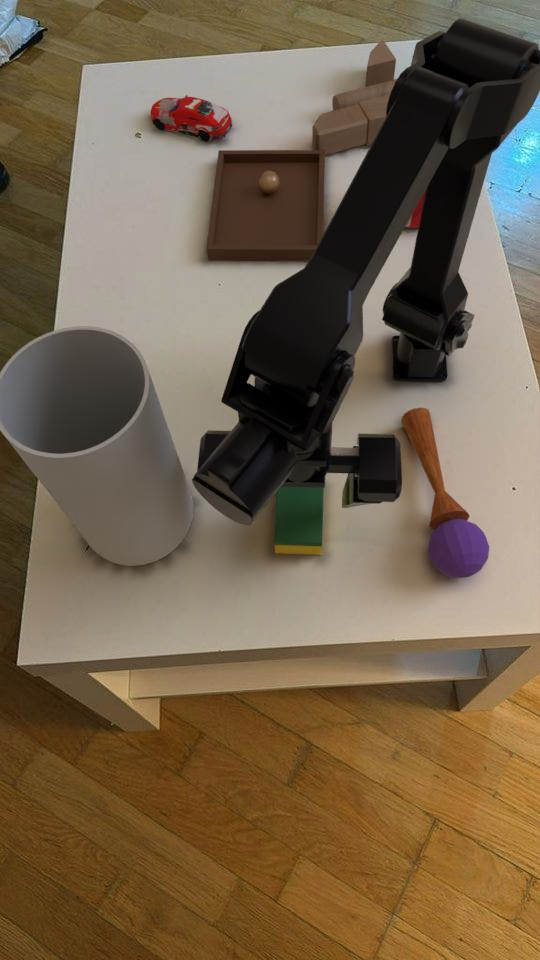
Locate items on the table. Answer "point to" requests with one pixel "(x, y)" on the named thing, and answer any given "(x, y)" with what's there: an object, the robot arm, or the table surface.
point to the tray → (267, 206)
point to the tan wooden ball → (269, 182)
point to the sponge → (299, 520)
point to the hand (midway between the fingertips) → (299, 502)
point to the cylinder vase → (98, 441)
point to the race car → (191, 117)
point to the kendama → (445, 508)
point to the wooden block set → (358, 107)
